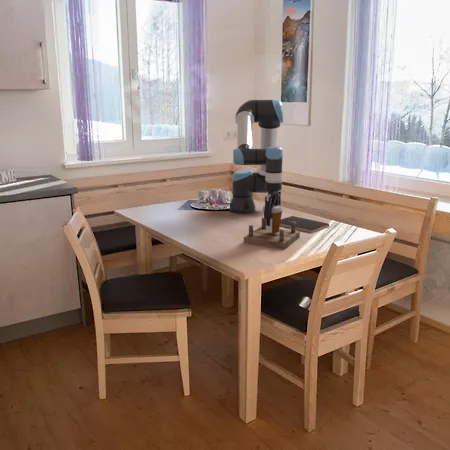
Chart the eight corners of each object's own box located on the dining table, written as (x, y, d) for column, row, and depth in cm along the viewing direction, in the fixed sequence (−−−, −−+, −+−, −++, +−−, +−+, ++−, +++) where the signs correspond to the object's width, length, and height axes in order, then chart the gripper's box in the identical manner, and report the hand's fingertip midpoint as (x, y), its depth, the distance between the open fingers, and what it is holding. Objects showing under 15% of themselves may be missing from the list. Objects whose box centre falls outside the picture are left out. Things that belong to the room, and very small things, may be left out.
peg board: (260, 232, 245) (261, 216, 243) (299, 237, 236) (300, 221, 234) (243, 243, 228) (243, 226, 226) (284, 249, 219) (285, 232, 217)
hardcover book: (311, 234, 243) (311, 229, 243) (274, 225, 259) (274, 221, 258) (329, 227, 254) (329, 223, 254) (292, 219, 270) (293, 215, 269)
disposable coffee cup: (281, 234, 225) (282, 209, 222) (260, 233, 227) (261, 208, 224) (283, 229, 234) (284, 204, 231) (263, 227, 236) (263, 203, 233)
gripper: (274, 177, 235) (273, 223, 241) (256, 184, 217) (255, 234, 223) (289, 178, 232) (287, 225, 238) (272, 186, 214) (271, 236, 220)
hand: (272, 229), depth 230 cm, fingers closed on disposable coffee cup, 8 cm apart
